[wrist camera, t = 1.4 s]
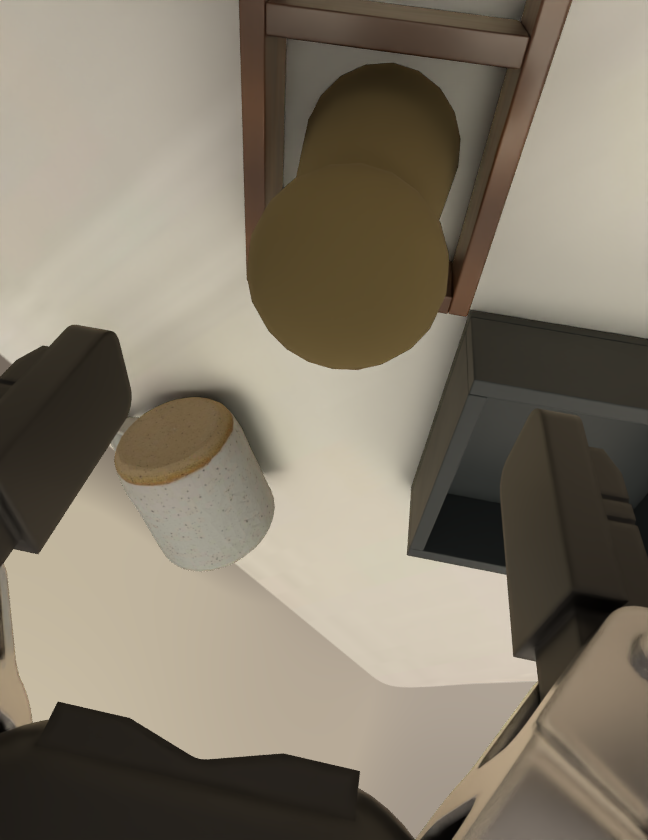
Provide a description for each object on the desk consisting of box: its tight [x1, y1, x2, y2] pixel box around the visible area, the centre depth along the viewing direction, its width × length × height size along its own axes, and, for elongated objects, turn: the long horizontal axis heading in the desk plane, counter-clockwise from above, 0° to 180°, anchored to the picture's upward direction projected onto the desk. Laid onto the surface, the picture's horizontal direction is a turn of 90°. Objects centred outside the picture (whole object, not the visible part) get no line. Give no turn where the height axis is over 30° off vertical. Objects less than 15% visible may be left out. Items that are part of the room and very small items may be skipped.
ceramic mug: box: [111, 397, 275, 572], centre depth 31 cm, size 11×8×8 cm
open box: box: [407, 310, 648, 575], centre depth 27 cm, size 14×14×5 cm
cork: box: [247, 63, 461, 370], centre depth 16 cm, size 6×6×11 cm
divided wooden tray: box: [239, 0, 572, 317], centre depth 16 cm, size 18×9×3 cm, turn 175°
